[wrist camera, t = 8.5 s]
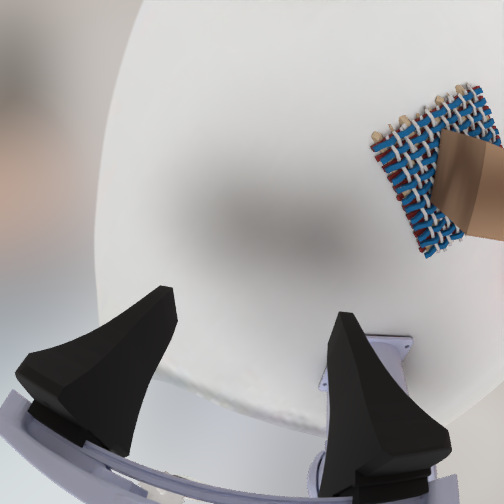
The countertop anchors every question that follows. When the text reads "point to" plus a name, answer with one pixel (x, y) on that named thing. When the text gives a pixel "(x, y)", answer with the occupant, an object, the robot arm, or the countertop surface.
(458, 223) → the walnut block
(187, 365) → the countertop surface
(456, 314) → the countertop surface
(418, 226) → the woven mat
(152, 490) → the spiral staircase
